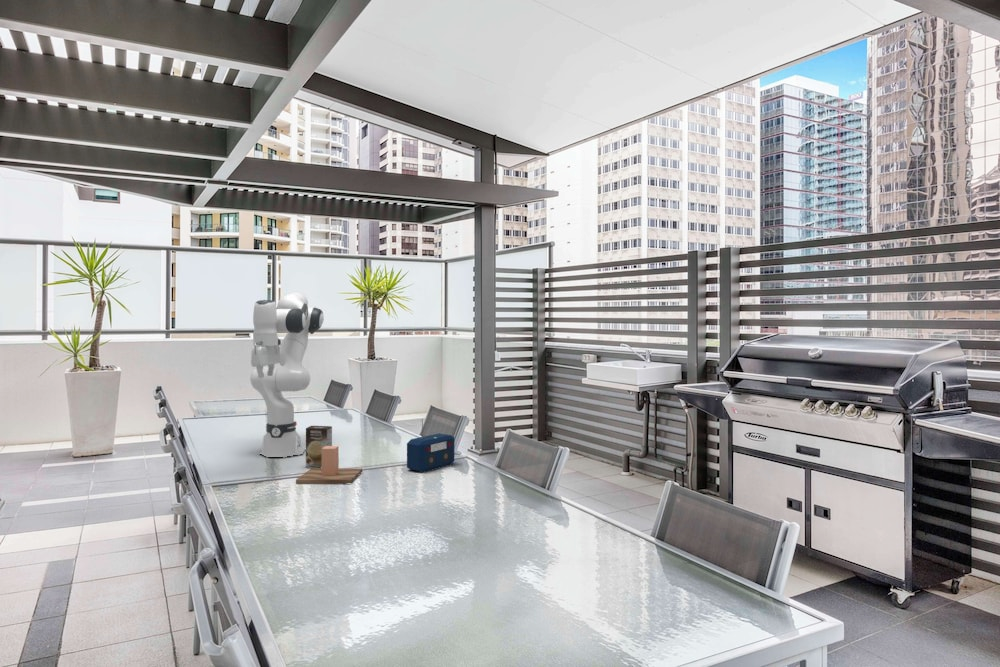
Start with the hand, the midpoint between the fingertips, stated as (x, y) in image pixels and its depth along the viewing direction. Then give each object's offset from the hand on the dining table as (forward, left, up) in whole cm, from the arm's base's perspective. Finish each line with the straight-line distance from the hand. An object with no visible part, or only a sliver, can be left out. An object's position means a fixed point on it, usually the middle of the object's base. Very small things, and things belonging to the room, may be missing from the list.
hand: (265, 376), depth 250 cm
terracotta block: (+10, +28, -36) cm, 46 cm away
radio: (-8, +64, -37) cm, 75 cm away
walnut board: (+10, +28, -37) cm, 48 cm away
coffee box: (-9, +18, -37) cm, 42 cm away
